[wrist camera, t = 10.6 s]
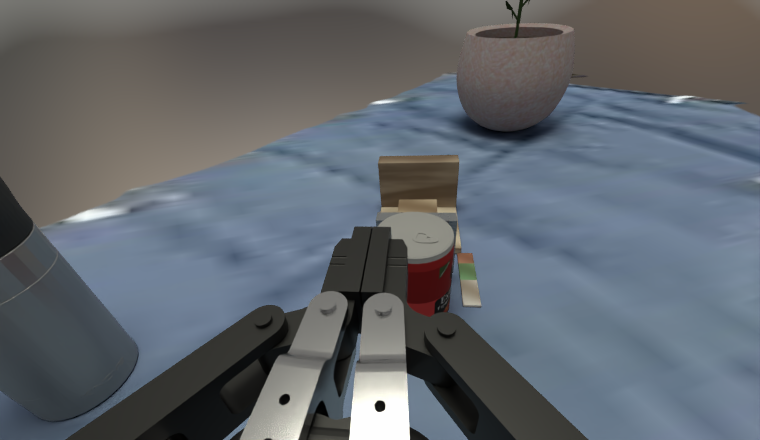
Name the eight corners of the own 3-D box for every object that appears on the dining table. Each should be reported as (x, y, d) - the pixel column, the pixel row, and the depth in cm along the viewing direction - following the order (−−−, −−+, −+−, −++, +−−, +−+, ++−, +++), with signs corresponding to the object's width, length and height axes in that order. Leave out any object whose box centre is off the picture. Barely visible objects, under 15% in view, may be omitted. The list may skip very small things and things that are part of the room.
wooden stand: (480, 307, 39) (490, 248, 34) (353, 302, 41) (344, 246, 35) (463, 204, 56) (467, 154, 51) (374, 203, 58) (370, 156, 53)
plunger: (453, 273, 41) (457, 221, 37) (380, 271, 43) (376, 220, 38) (447, 215, 51) (450, 168, 47) (388, 215, 52) (385, 169, 48)
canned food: (450, 334, 36) (457, 259, 30) (377, 330, 37) (369, 257, 31) (447, 282, 42) (452, 210, 36) (384, 280, 43) (378, 210, 37)
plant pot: (436, 120, 89) (440, -19, 71) (512, 105, 94) (534, -27, 77) (490, 155, 70) (514, -21, 53) (581, 133, 76) (630, -32, 58)
